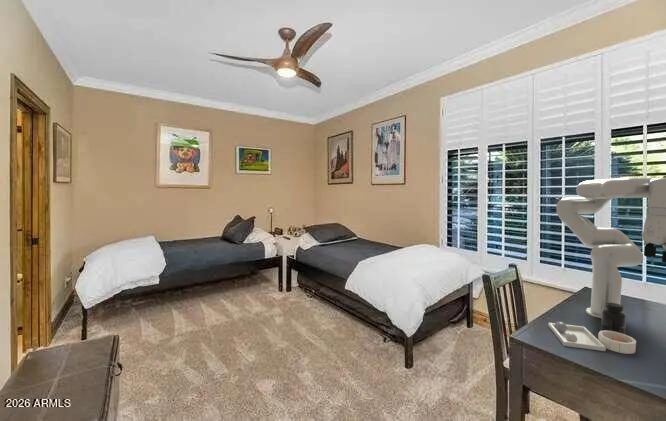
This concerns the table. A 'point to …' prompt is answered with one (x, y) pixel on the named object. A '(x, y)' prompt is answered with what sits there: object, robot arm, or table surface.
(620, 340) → the pebble
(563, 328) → the pebble
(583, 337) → the parts tray
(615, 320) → the supplement bottle
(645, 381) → the table surface
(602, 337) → the bowl
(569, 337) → the pebble
